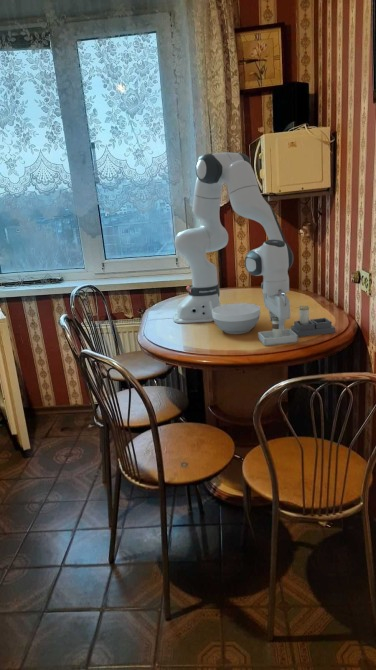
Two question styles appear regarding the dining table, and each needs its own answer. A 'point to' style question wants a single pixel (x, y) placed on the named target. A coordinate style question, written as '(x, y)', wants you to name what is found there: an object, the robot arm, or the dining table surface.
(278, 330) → the fuse
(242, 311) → the bowl
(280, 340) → the parts tray
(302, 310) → the fuse
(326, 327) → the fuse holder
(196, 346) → the dining table surface
